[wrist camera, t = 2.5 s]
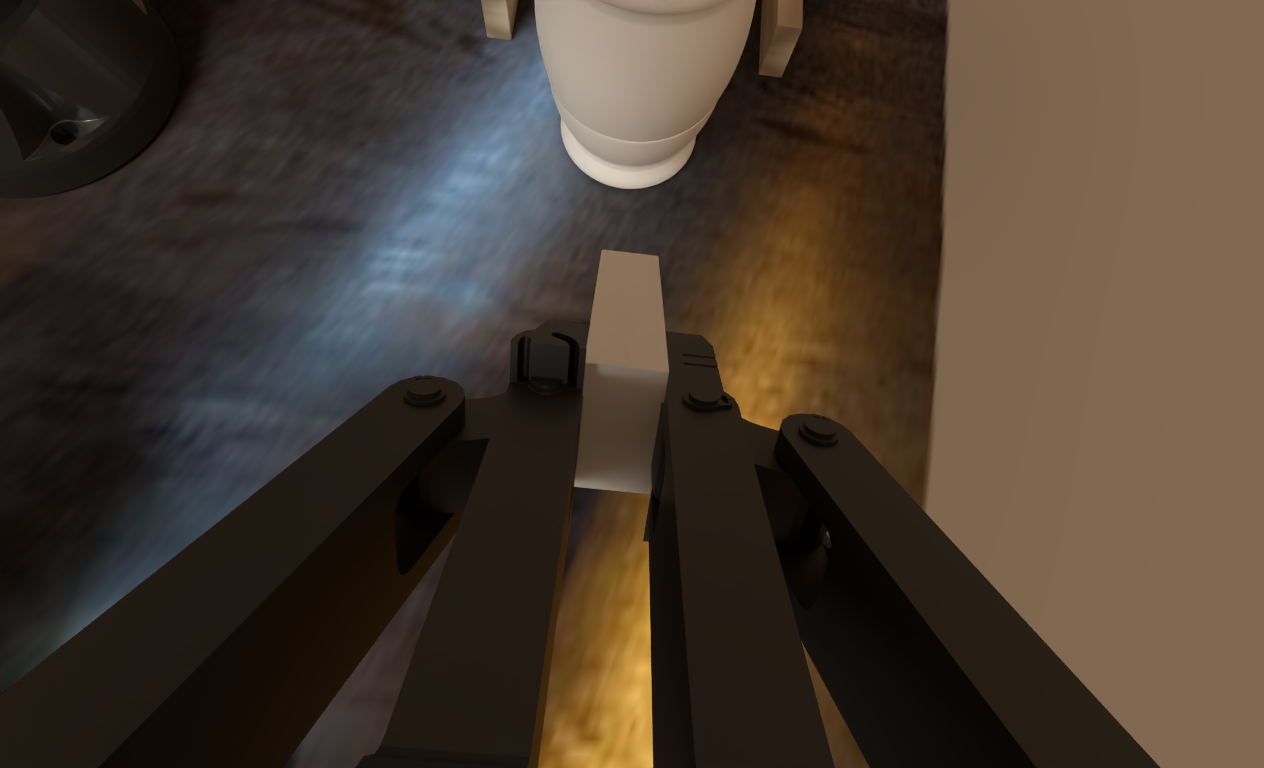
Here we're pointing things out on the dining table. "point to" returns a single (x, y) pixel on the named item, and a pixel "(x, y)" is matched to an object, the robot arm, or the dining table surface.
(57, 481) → the dining table surface
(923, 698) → the robot arm
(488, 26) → the bay
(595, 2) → the jar
